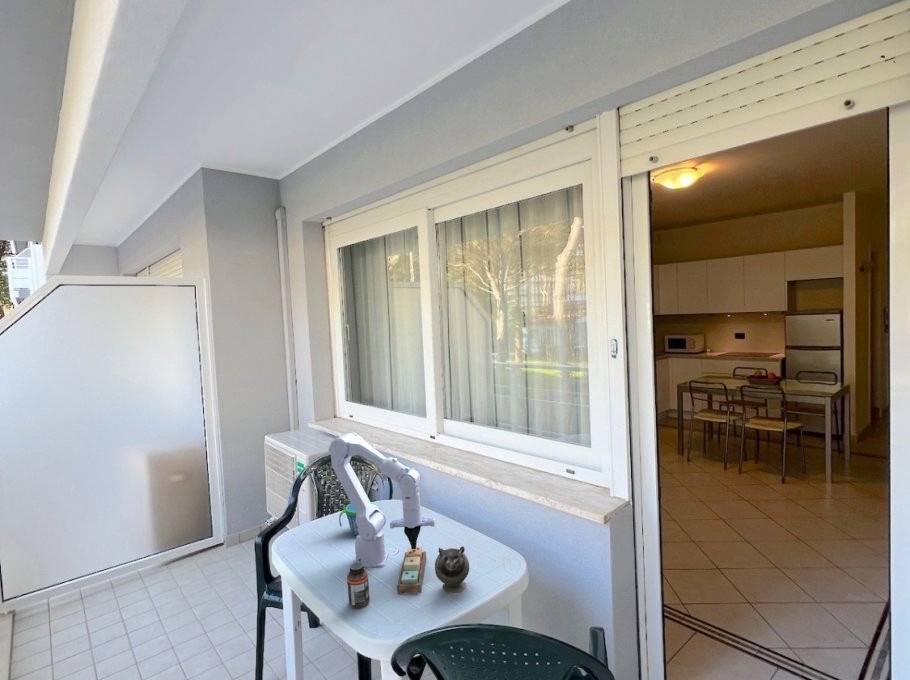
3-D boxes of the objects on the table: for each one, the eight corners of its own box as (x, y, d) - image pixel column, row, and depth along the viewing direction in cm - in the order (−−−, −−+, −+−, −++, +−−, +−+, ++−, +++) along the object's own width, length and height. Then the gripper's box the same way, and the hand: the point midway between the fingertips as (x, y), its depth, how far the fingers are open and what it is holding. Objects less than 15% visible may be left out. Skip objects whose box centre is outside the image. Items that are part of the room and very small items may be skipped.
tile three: (406, 564, 153) (406, 554, 153) (408, 556, 158) (408, 547, 158) (421, 563, 153) (420, 553, 153) (422, 556, 158) (421, 546, 158)
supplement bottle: (350, 597, 139) (347, 560, 138) (370, 595, 140) (368, 558, 139) (347, 610, 133) (344, 571, 132) (368, 608, 134) (366, 569, 133)
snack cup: (339, 540, 175) (337, 514, 174) (341, 528, 185) (339, 502, 185) (381, 535, 177) (380, 509, 177) (381, 523, 188) (379, 498, 187)
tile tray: (397, 593, 140) (397, 585, 140) (405, 559, 159) (405, 552, 159) (421, 592, 140) (420, 584, 140) (426, 558, 159) (426, 551, 159)
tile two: (402, 589, 141) (401, 579, 141) (404, 581, 146) (403, 570, 145) (417, 589, 141) (416, 578, 141) (418, 580, 146) (418, 570, 145)
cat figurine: (443, 601, 135) (476, 591, 139) (439, 561, 134) (473, 552, 138) (432, 583, 145) (463, 574, 148) (429, 545, 144) (460, 537, 147)
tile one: (404, 574, 147) (403, 564, 147) (406, 566, 152) (405, 556, 152) (419, 574, 147) (418, 563, 147) (420, 566, 152) (419, 556, 151)
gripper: (387, 513, 151) (390, 554, 152) (432, 511, 150) (435, 553, 151) (390, 504, 158) (393, 544, 159) (434, 502, 157) (436, 542, 158)
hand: (414, 547), depth 155 cm, fingers closed
